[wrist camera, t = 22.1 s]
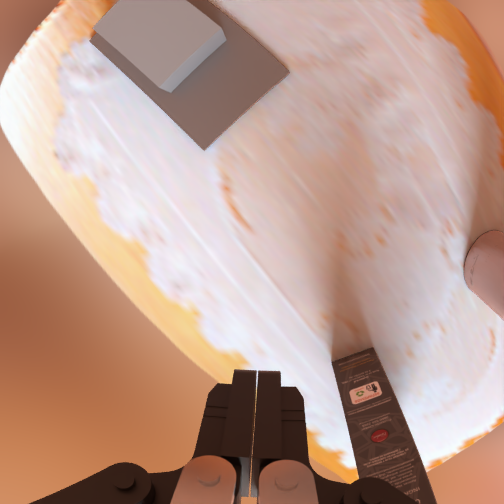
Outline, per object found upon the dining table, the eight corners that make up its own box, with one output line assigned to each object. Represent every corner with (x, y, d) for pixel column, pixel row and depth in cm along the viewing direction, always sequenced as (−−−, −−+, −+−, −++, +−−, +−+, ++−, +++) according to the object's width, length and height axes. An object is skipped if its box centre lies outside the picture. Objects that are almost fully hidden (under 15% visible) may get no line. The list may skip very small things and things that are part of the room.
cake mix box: (331, 362, 41) (377, 578, 13) (373, 346, 40) (452, 552, 12) (359, 445, 47) (389, 593, 19) (391, 434, 46) (433, 578, 18)
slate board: (289, 73, 30) (289, 72, 29) (205, 150, 33) (203, 150, 32) (165, -28, 25) (163, -31, 25) (92, 42, 28) (89, 41, 28)
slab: (226, 40, 28) (159, -12, 26) (221, 27, 24) (148, -27, 22) (171, 93, 30) (109, 37, 28) (158, 87, 26) (92, 28, 24)
